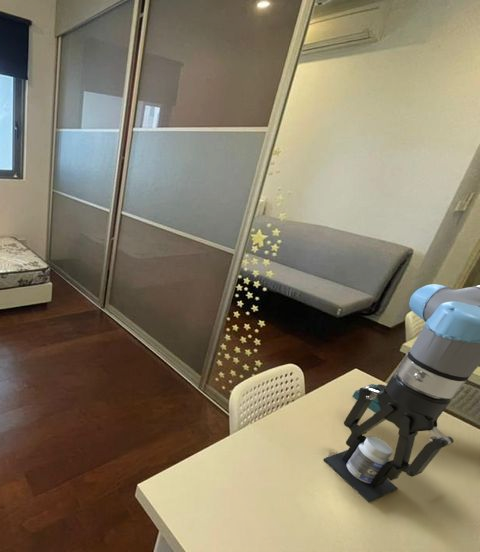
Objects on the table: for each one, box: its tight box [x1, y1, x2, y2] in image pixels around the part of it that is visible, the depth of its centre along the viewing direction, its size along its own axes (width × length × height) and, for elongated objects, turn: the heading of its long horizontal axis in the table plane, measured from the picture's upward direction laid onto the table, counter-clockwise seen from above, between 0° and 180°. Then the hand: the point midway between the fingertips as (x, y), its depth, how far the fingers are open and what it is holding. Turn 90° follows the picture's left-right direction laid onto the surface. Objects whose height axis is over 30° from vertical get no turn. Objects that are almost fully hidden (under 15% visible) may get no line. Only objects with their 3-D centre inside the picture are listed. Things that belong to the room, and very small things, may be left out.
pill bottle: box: [347, 435, 394, 483], centre depth 64 cm, size 5×5×8 cm
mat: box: [323, 449, 399, 503], centre depth 66 cm, size 9×9×1 cm
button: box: [374, 383, 386, 391], centre depth 84 cm, size 4×4×2 cm
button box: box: [352, 383, 380, 414], centre depth 85 cm, size 8×8×4 cm
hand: (361, 471), depth 66 cm, fingers closed on pill bottle, 5 cm apart
